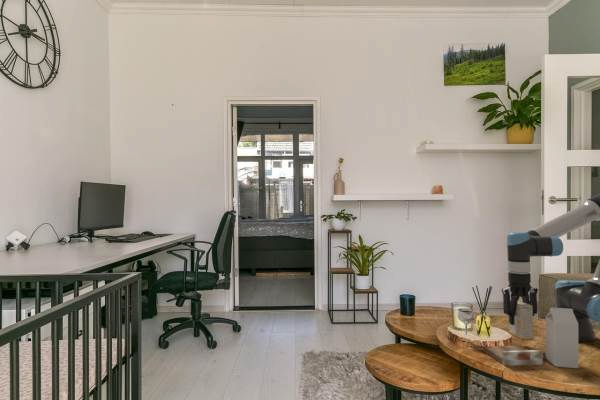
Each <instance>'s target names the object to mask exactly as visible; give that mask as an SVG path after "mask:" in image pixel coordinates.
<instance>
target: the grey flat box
mask: <svg viewBox="0 0 600 400" xmlns="http://www.w3.org/2000/svg"><path fill="white" fill-rule="evenodd" d="M482 351H483V353H485V354H486V355H487V356H489V357H490V358H492V359H494V361H496V362H498V363H500V364H501V365H503V366H504V367H505V366H507V367H508V366H509V367H511V366H533V365H534V366H536V365H537V366H538V365H544V351H543V350H542V349H530V350H529V349H526V348H524V346H521V345H518V344H517V345H515V344H514V345H488V346H487V345H486V346H485V345H484V346H483V350H482Z"/></svg>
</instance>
